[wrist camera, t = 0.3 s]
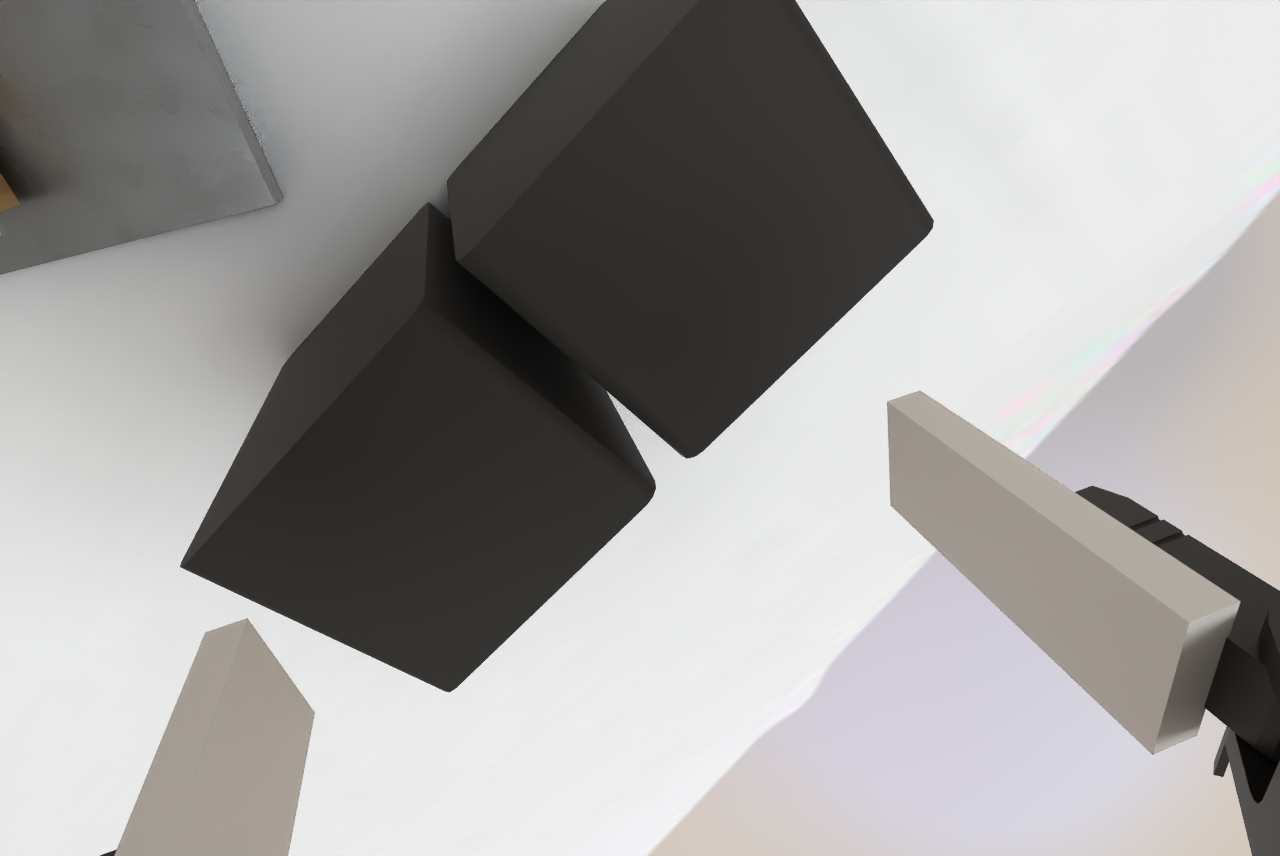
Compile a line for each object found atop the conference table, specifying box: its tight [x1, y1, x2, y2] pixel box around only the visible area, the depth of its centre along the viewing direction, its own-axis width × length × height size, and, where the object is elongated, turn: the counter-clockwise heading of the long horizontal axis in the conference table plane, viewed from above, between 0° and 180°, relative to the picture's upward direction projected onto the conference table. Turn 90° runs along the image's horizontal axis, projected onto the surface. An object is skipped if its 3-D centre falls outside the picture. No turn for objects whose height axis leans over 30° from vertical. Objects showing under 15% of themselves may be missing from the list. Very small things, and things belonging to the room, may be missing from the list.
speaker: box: [180, 0, 934, 692], centre depth 30 cm, size 25×11×19 cm, turn 134°
